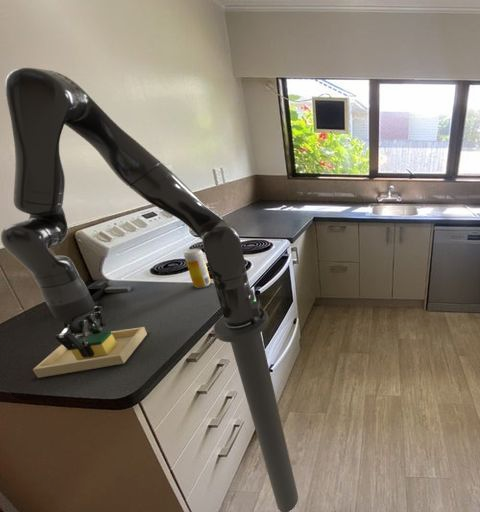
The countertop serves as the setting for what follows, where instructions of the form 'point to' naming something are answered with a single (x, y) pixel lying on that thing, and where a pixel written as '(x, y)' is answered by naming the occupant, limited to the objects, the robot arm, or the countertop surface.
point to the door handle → (103, 290)
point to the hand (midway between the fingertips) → (95, 349)
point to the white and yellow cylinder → (197, 267)
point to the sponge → (98, 344)
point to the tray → (67, 362)
